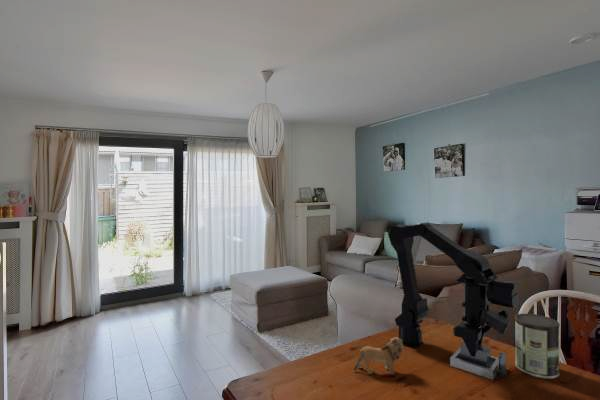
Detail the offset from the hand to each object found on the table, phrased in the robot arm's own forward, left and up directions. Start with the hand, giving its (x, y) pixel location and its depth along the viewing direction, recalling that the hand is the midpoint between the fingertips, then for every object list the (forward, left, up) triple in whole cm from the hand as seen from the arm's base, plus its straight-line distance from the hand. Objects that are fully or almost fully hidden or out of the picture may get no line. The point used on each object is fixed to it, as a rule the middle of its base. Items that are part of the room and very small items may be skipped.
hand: (475, 353), depth 96 cm
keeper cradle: (+1, 0, -4) cm, 4 cm away
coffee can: (+13, +10, -4) cm, 17 cm away
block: (0, 0, -3) cm, 3 cm away
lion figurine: (-19, -20, -4) cm, 28 cm away
